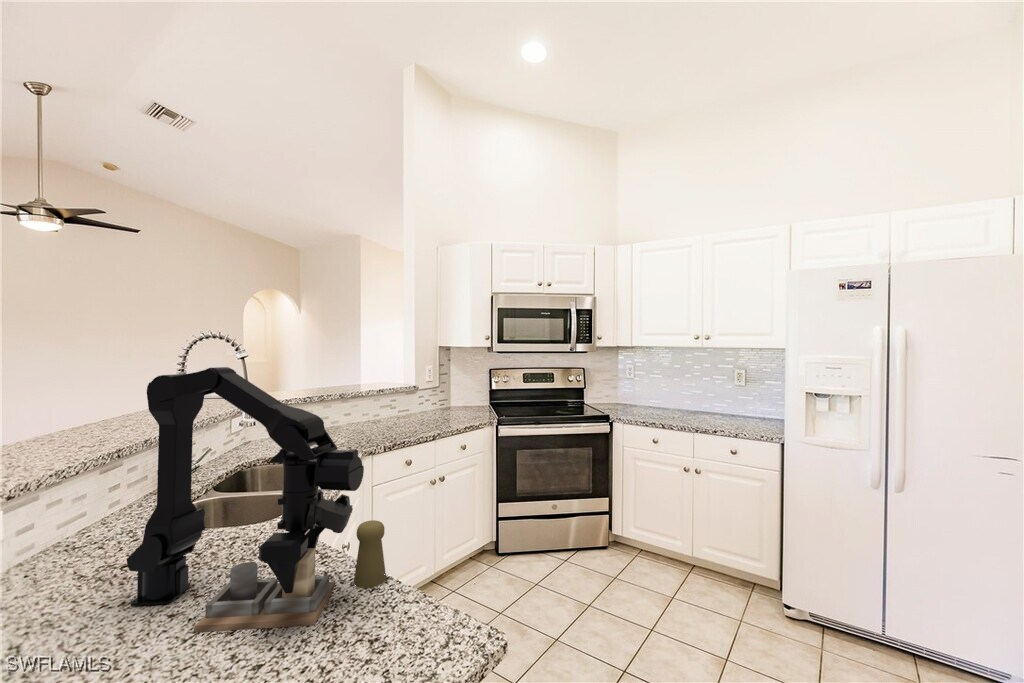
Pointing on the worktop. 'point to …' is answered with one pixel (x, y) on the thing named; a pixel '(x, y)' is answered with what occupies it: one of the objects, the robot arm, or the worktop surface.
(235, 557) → the worktop surface
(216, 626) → the board
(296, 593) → the maple pin
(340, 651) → the worktop surface
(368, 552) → the olive green peg figure
